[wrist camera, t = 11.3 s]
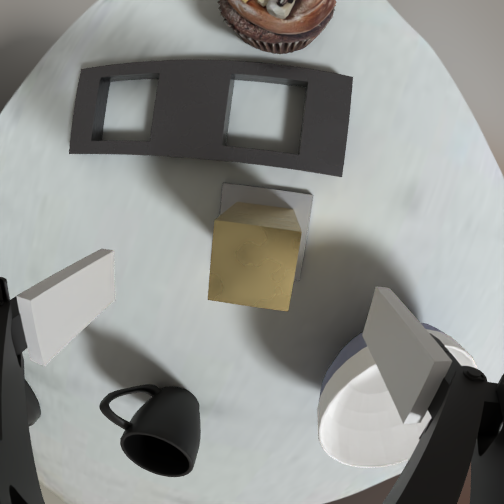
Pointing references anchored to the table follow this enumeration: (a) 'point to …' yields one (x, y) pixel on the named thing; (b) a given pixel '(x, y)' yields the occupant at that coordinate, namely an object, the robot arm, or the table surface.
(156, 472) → the mug
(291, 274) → the tan wooden peg
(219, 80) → the dark grey peg board
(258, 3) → the cupcake
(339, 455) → the bowl
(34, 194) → the table surface
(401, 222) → the table surface
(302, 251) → the pad
